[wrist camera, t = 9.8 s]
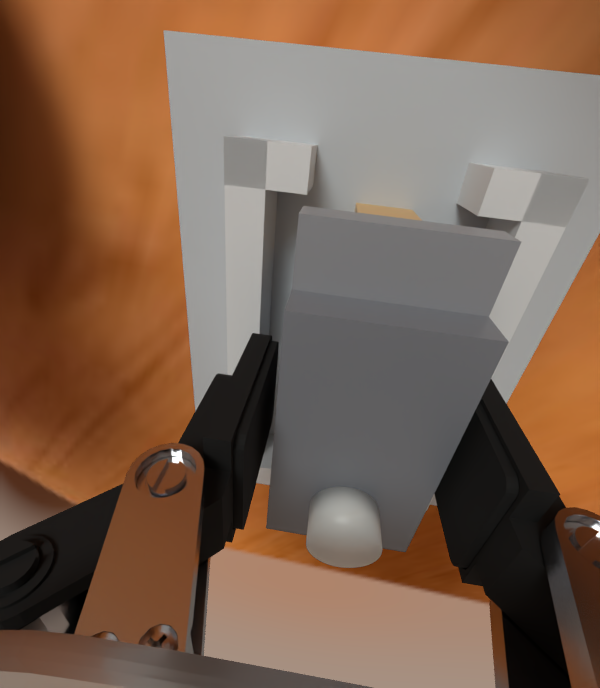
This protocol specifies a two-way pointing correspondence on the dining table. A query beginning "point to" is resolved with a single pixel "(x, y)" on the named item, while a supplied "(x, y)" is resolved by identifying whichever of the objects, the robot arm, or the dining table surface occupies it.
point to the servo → (379, 372)
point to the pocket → (370, 176)
